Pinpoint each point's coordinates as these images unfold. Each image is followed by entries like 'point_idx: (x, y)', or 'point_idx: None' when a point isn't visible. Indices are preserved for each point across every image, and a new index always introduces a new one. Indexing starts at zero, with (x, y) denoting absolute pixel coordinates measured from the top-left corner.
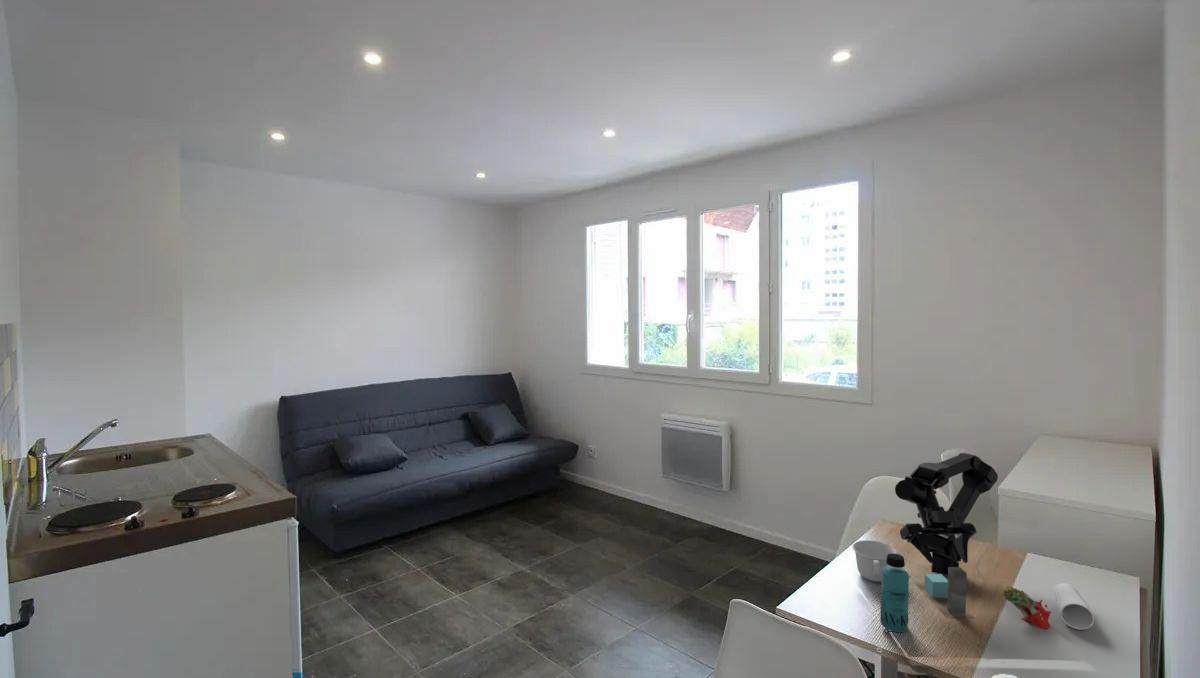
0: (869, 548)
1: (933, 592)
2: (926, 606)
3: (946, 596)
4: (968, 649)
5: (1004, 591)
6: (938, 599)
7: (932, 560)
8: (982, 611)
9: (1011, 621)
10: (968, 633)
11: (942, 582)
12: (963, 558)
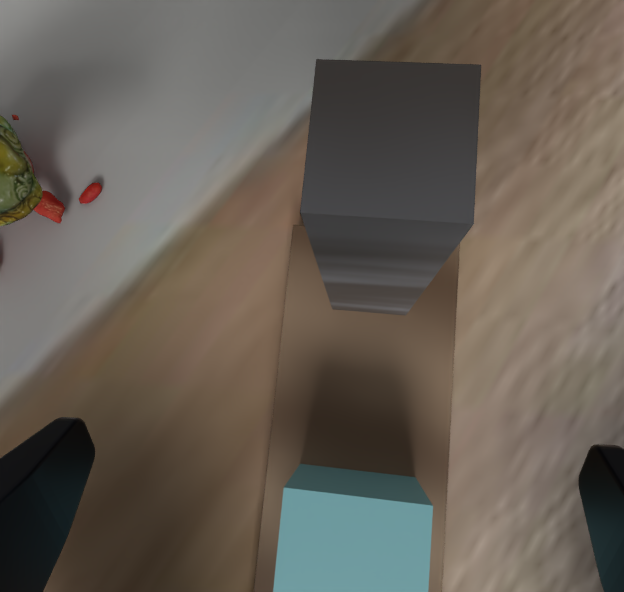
0: None
1: (413, 483)
2: (479, 421)
3: (319, 466)
4: (476, 20)
5: (16, 160)
6: (387, 447)
7: (610, 459)
8: (173, 342)
9: (91, 239)
10: None
11: (345, 494)
12: (62, 487)
